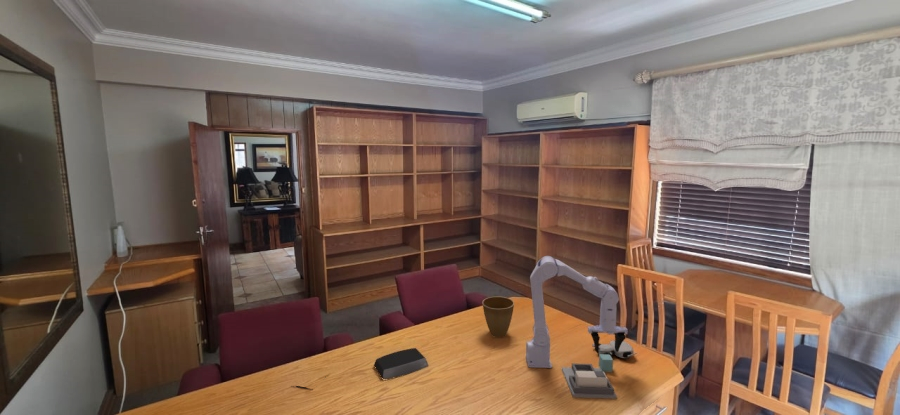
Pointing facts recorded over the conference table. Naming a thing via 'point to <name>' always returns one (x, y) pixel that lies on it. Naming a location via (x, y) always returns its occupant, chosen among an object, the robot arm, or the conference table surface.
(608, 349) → the robot toy
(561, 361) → the conference table surface
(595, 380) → the beige rectangular block
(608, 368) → the teal block
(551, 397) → the conference table surface
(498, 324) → the plant pot
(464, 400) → the conference table surface
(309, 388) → the conference table surface
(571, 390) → the jig
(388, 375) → the external hard drive
